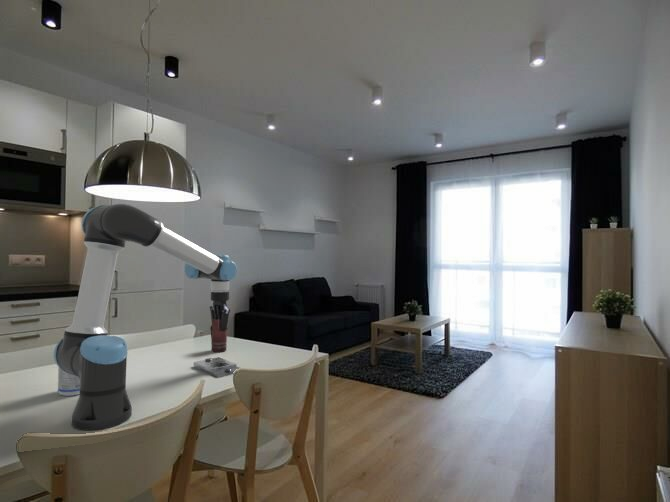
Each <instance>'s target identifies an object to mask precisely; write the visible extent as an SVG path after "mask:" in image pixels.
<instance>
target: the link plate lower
mask: <svg viewBox="0 0 670 502" xmlns="http://www.w3.org/2000/svg"><path fill="white" fill-rule="evenodd" d="M222 366H227V365H225V364H222V363H220V364H216V365H211V367H214V368H217V367H222ZM239 368H241V367H239V366H237V365H236V367H231V368H226V369H222V370H217V371H213V372H210V371H207V370H205V369H203V368H200V369H199V370H200V371H201V372H202V371H203V372H204V373H206V374H209V375H210V376H213V377H216V378H217V379H218V378H222V377H225V376H226V377H227V376H230V375H234V374H233V372H234V371H235V370H236V369H239Z"/></svg>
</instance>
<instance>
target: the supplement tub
mask: <svg viewBox="0 0 670 502" xmlns="http://www.w3.org/2000/svg"><path fill="white" fill-rule="evenodd" d="M57 367H58V366H57ZM57 371H58V372H57V373H58V375H57V376H58V377H57V380H58V381H57V394H58V395H59V396H64V397H72V396H80V377H78V376H75V375H73V374H69V373H66V372H65V371H63V370H62V369H61V368H59V367H58V369H57Z"/></svg>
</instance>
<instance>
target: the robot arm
mask: <svg viewBox="0 0 670 502" xmlns="http://www.w3.org/2000/svg"><path fill="white" fill-rule="evenodd" d="M81 231H82V232H83V233H84V238H83V244H84V246H85V247H86V248H87V252H86V256H85V261H84V266H83V271H82V276H81V280H80V285H79V291H78V295H77V300H76V304H75V309H74V312H73V313H74V315H73V319H72V324H71V325H69V326H68V327H66V328H65V329H64V333H63V338H61V339H60V340H59V341H58V342H57V344H56V345H55V347H54V350H53V359H54V362H55V364H56V366H57V367H59V368H61V369H62V370H63V371H65V372H66V373H69V374H73V375H75V376H78V377H80V394H79V395H78V396H79V397H78V398H77V402H76V404H75V407H74V410H73V412H72V414H71V427H72V428H74V429H76V430H81V431H96V430H103V429H108V428H112V427H115V426H118V425H120V424H123V423H125V422H126V421H127V420H129V419H130V418H131V417H132V415H133V413H132V412H133V409H132V408H133V407H132V403H131V401H130V398H129V395H128V393H127V392H128V391H127V388H126V387H127V385H126V383H127V357H128V347H127V341H126V340H125V339H123V338H122V337H120V336H118V335H117V336H116V335H108V333H109V332H108V330H107V329H106V328H105V320H106V316H107V311H108V305H109V300H110V295H111V291H112V284H113V282H114V281H113V280H114V275H115V271H116V270H115V269H116V265H117V260H118V256H119V254H120V252H122V251H123V250H124V249H125V247H126V243H127V242H131V243H134V244H139V245H141V246H143V247H146V248H147V247H152V248H154V249H155V250H159V251H160V252H162V253H164V254H166V255H168V256H170V257H172V258H174V259H176V260H178V261H179V262H183V263H184V264H185V265H184V274H185V276H186V277H187V278H189V279H193V280H194V279H206V280H210V290H211V292H210V300H211V301H212V302H213V303H212V305H211V306H209V311H210V319H211V321H212V320H213V318H215V319H219V320H221V326H220V331H226V330H227V331H228V329H227V328H228V323H229V322H228V321H229V316H230V313H231V309H230V308H228V304H227V301H229V300H230V281H232V280H234V279H235V278H236V276H237V274H238V267H237V264H236V263H235V261H232V260H230V256H229V255H228V254H213V253H212V252H210V251H208V250H207V249H205V248H202V247H201V246H200V245H197V244H196V243H194V242H193V241H191V240H189V239H187V238H185V237H183V236H182V235H179V234H178V233H176V232H174V231H172V230H171V229H169V228H167V227H165V226H164V224H163V222H162V221H161V220H159V219H158V218H156V217H154V216H152V215H150V214H149V213H147V212H145V211H144V210H143V209H140V208H137V207H135V206H133V205H130V204H125V203H116V204H103V205H97V206H95V207H92V208H90V209H89V210H88V211H86V213H85V214H84V215H83V217H82V220H81Z"/></svg>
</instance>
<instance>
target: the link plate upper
mask: <svg viewBox="0 0 670 502" xmlns="http://www.w3.org/2000/svg"><path fill="white" fill-rule="evenodd" d="M220 363H222V364H225V365H227V366H217V367H211V365H216V364H220ZM236 366H237V363H234V362H233V361H230V360H227V359H224V358H222V357H220V356H219V357H213V358H211V357H210V358H209V357H208V358H205V359H203V360H198V361H194V362H193V368H195V369H198V370H200V368H203V369H205V370H207V371H210V372H213V371H217V370H222V369H226V368H231V367H236Z"/></svg>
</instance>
